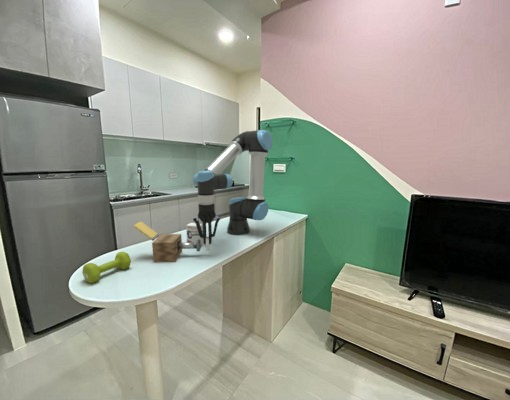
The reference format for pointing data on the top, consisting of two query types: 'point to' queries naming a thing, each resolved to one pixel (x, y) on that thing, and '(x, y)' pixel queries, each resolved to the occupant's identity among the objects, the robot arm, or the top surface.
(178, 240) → the block
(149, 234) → the tan flat board
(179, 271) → the top surface
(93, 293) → the top surface
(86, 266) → the dumbbell
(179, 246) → the pin
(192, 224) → the ink box
